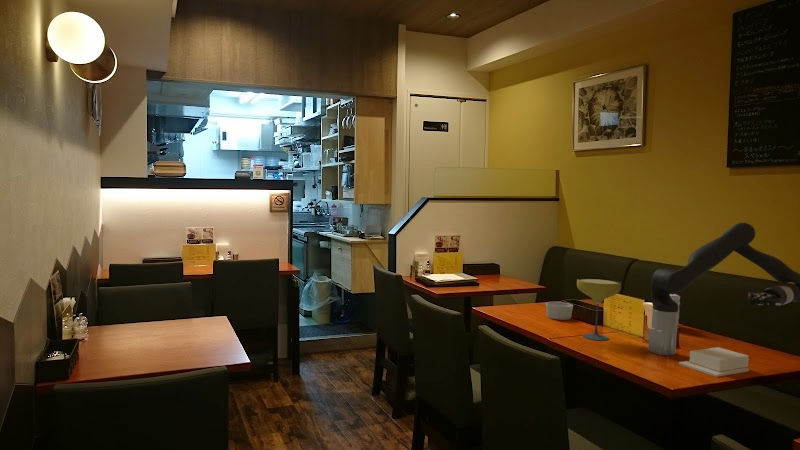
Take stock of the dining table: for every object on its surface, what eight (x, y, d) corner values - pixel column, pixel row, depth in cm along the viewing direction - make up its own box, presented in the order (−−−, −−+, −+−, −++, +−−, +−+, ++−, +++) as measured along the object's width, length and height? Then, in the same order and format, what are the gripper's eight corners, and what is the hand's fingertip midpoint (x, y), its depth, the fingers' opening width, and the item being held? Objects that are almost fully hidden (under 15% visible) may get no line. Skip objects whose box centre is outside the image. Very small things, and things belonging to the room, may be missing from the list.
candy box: (678, 331, 266) (681, 296, 265) (665, 330, 267) (667, 295, 266) (670, 324, 280) (673, 291, 279) (658, 323, 281) (660, 290, 280)
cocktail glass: (594, 344, 237) (597, 284, 236) (565, 333, 254) (568, 277, 252) (627, 341, 245) (630, 283, 243) (596, 330, 261) (599, 276, 260)
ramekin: (551, 313, 296) (551, 300, 295) (576, 317, 288) (577, 304, 288) (541, 317, 285) (541, 304, 285) (567, 322, 277) (567, 308, 277)
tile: (747, 367, 210) (719, 372, 203) (717, 358, 221) (689, 362, 214) (748, 355, 210) (720, 360, 203) (718, 347, 221) (690, 351, 214)
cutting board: (716, 376, 200) (716, 374, 200) (679, 364, 214) (679, 362, 214) (749, 371, 208) (749, 369, 208) (711, 359, 222) (711, 357, 221)
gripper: (762, 281, 231) (735, 287, 223) (796, 291, 219) (769, 298, 211) (759, 299, 232) (732, 306, 225) (793, 310, 221) (766, 317, 213)
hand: (750, 302), depth 218 cm, fingers closed
